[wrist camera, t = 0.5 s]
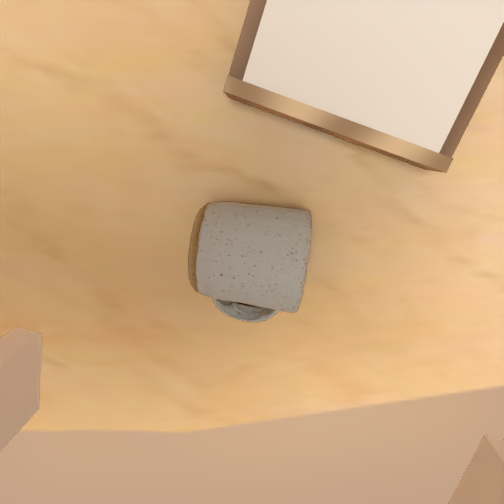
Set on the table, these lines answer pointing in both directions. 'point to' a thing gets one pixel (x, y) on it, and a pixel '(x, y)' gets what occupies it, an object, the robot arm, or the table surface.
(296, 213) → the ceramic mug
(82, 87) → the table surface
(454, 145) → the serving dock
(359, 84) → the mat
